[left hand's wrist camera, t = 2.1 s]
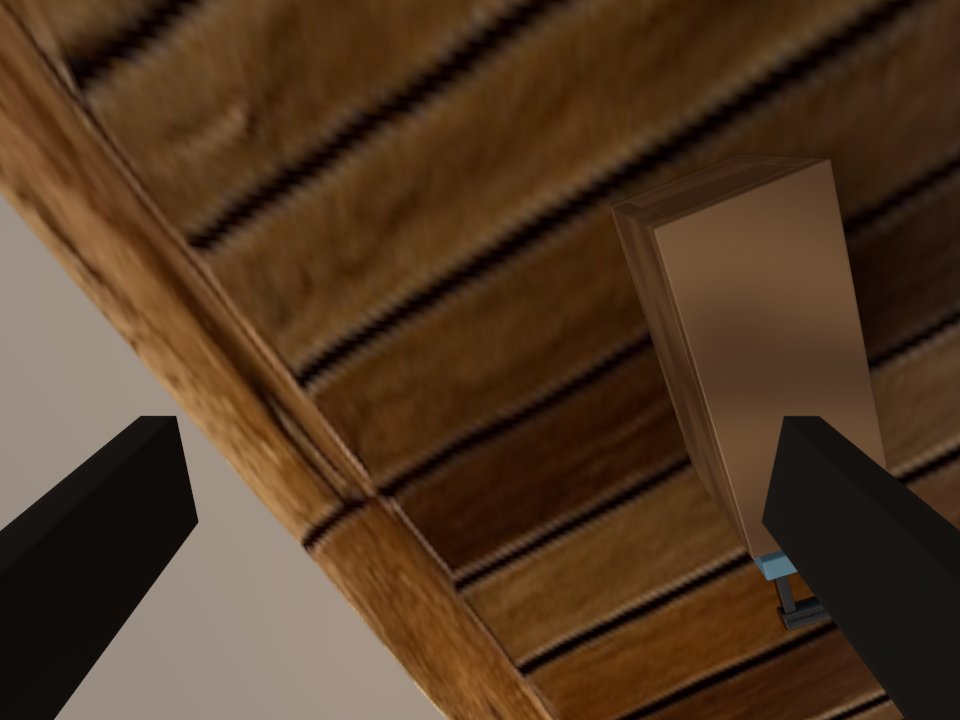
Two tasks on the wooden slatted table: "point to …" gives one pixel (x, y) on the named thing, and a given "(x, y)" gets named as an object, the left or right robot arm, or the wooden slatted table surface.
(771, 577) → the drawer
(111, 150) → the wooden slatted table surface
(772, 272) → the cabinet
